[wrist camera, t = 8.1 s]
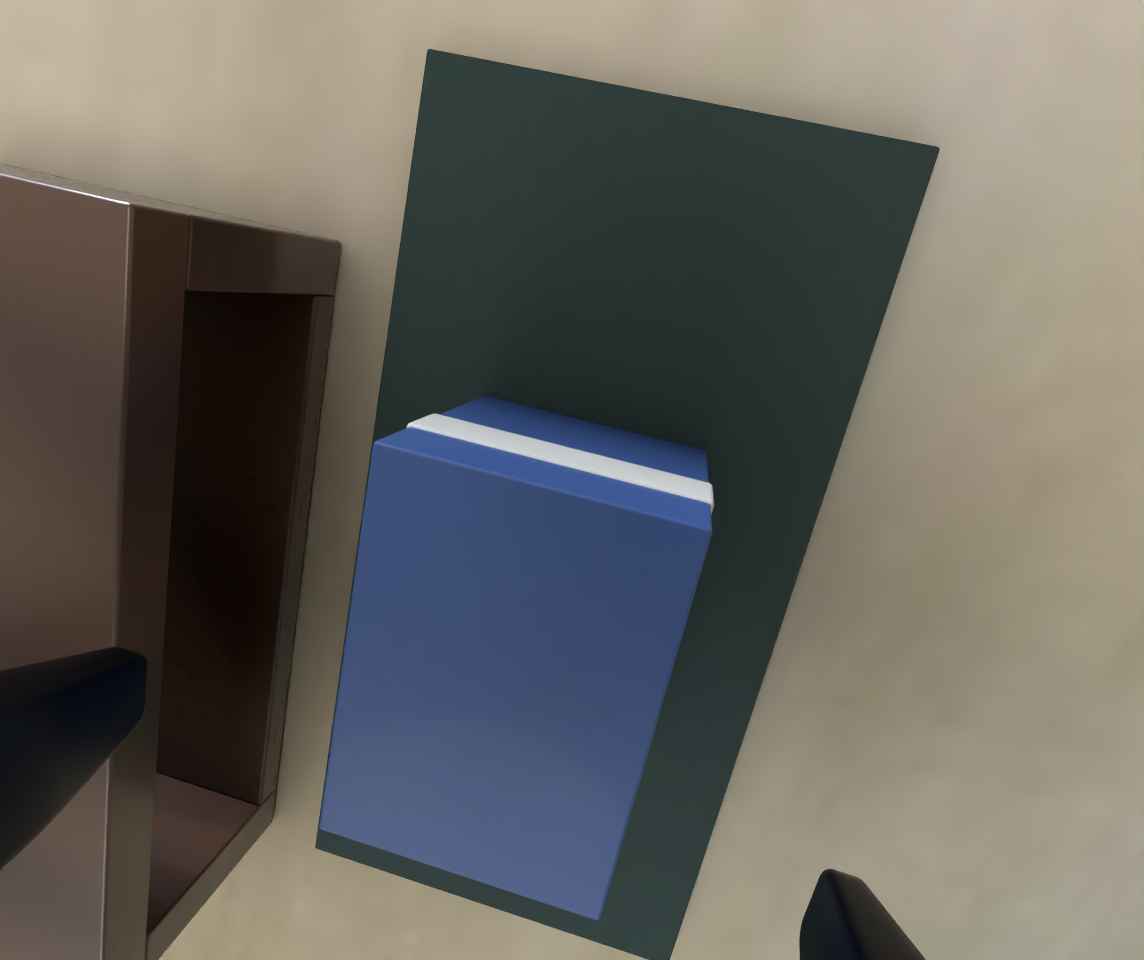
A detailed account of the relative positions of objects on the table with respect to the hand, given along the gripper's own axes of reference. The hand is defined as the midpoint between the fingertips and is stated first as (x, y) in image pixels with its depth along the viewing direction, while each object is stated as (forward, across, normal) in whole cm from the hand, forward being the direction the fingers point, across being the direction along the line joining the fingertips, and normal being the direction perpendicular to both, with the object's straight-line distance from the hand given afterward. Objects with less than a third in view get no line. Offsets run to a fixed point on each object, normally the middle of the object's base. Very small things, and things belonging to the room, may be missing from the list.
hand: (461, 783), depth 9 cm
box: (+8, 0, 0) cm, 8 cm away
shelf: (+8, +11, +2) cm, 14 cm away
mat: (+8, 0, 0) cm, 8 cm away
